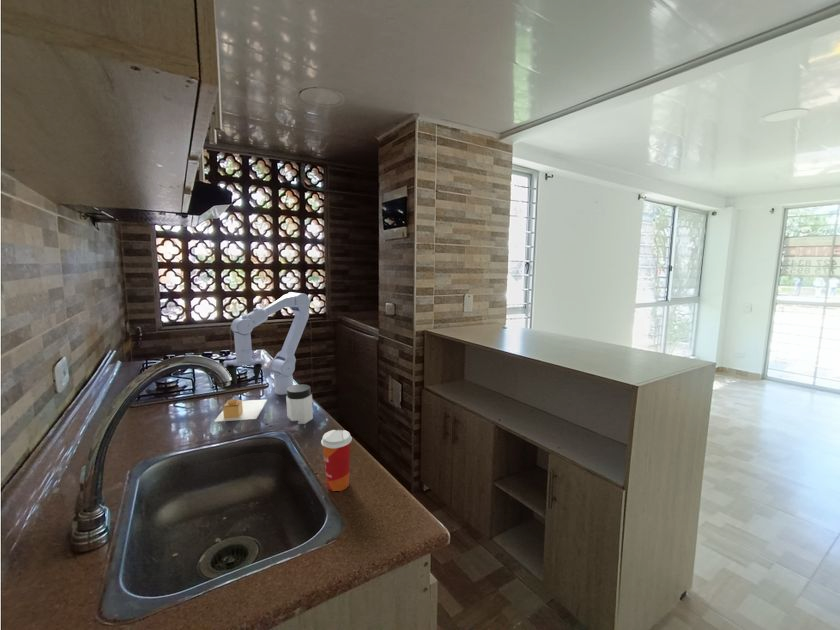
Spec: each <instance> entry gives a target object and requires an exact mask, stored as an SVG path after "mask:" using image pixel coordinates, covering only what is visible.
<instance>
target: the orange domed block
mask: <svg viewBox="0 0 840 630" xmlns="http://www.w3.org/2000/svg"><path fill="white" fill-rule="evenodd" d="M242 401H243V399H237V398H231V399H230V398H229V399H228V400H227V401H226V402H225V403H224V404H223V405H222V411H223V413H224V418H232V417H239V416H240V415H241V413H242V412H243V407H242Z"/></svg>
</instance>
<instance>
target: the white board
mask: <svg viewBox="0 0 840 630" xmlns="http://www.w3.org/2000/svg"><path fill="white" fill-rule="evenodd" d="M267 401H268V399H252V400H249V399H248V400H242V407H243V412H242V413H241V415H240V416H239V417H232V418H224V413H223V410H222V411H221V412H220V413H219V414H218V416H217V417H216V418H215V419H214V420H213V422H214V423H218V422H228V421H230V422H231V421H244V420H245V421H246V420H257V419H258V417H259V415H260V413H261V412H262V410H263V408H264V406H265V405H266V403H267Z"/></svg>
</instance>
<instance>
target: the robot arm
mask: <svg viewBox="0 0 840 630" xmlns="http://www.w3.org/2000/svg"><path fill="white" fill-rule="evenodd" d="M311 303H312V300H310V297H309V295H308V294H306V293H301V292H293V291H289V292H288V293H286V294H283V295H282V296H281V297H280V298H278V299H277V300H275V301H273V302H272V303H270V304H268V305H267V306H265V307H264V308H262V307H258V308H257V307H254V308H253V309H252V311H250V312H249V313H247V314H243V315H242V316H241V317H237V318H235V319H233V320H232V322H231V325H230V331H232V332H233V340H234V350H235V351H234V352H235V359H231V360H224V361H223V367H224V368H225V367H226V369H227V370H228V371H229V373H230V374H231V376H230V378H231V377H232V378H231V380H232V382H233V385H237V383H238V375H237V374H238V373H237V372H238V371H237V366H253V367H252V369H253V374H254V384H258V382H259V378H260V377H259V376H260V373H261V371H262V368H263V366H264V365H265V364H266V359H265V358H253V350H252V349H253V348H252V347H253V346H252V336H251V333H252V332H253V329H254V328H256V327H258V326H259V325H261V324H263V323H264V322H266V321H267V320H268V318H269V316H270V315H273V314H275V313H276V312H278V311H280V310H282V309H285V308H289V309H290V310H291V311H292V313H293V314H294V318H293V320H292V323H291V325H290V328H289V331H288V332H287V334H286V338H285V340H284V342H283V345H282V347H281V350H280V351H278V352H277V353H276V355H275V356H274V357H273V358H272V360H271V361H270V364H269V365H270V366H269V367H270V370H271V371H273V383H274V393H275V395H278V396H279V395H281V396H283V395H287V388H289V387H290V386H293V385H294V376H293V373H294V372H295V369H296V362H297V359H296V356H295V353H296V351H297V348H298V346H299V343H300V340H301V338H302V335H303V332H304V330H305V328H306V326H307V323H308V320H309V317H310V305H311ZM227 370H226V371H227ZM229 373H228V374H229ZM230 374H229V375H230Z"/></svg>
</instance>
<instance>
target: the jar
mask: <svg viewBox="0 0 840 630" xmlns="http://www.w3.org/2000/svg"><path fill="white" fill-rule="evenodd" d="M311 389H312V388H311V386H310V385H308V384H304V383H303V384H293V386H290V387H289V388H287V394H286V396H285V399H286V400H285V401H286V403H285V404H286V415H287V416H286V417H287V418H288V420H290V421H291V422H297V421H298V422H297V425H306V424H307V423H309V422H310V421H312V420H313V419H314V410H313V408H314V407H313V394H312V392H311Z"/></svg>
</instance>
